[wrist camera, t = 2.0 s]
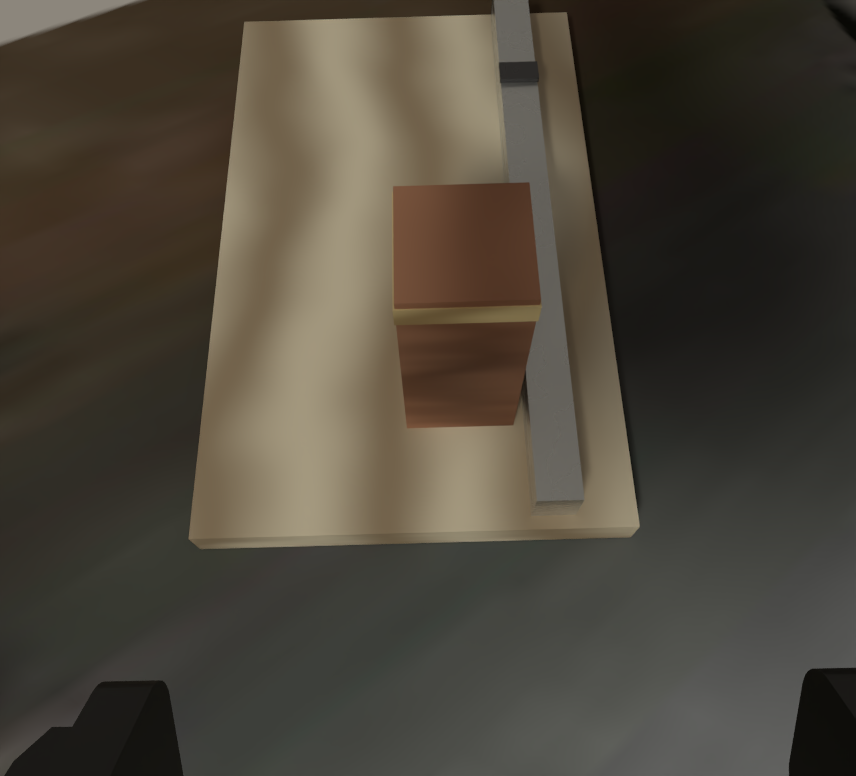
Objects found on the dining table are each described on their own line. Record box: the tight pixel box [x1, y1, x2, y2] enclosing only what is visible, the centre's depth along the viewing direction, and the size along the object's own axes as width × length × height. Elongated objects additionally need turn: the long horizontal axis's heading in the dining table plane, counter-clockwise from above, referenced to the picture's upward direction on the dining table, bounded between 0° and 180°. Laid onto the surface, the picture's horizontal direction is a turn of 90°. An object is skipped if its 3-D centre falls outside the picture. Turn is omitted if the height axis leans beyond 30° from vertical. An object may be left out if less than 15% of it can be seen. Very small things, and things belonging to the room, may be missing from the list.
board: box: [189, 12, 640, 549], centre depth 34 cm, size 16×26×2 cm, turn 1°
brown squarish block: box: [392, 182, 542, 428], centre depth 26 cm, size 4×4×9 cm
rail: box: [491, 0, 585, 516], centre depth 32 cm, size 2×25×2 cm, turn 2°
